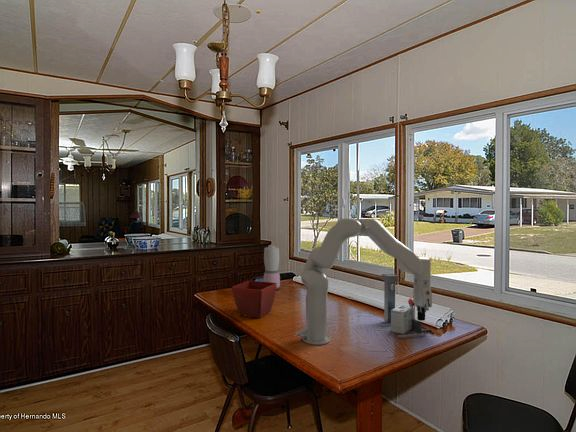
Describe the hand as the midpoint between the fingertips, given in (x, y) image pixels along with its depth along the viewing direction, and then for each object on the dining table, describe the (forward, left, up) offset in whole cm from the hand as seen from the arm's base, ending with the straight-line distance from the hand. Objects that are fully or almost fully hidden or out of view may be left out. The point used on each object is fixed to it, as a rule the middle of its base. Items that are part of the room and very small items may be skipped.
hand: (421, 319), depth 171 cm
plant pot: (-78, +42, -5) cm, 88 cm away
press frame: (-9, +5, -5) cm, 12 cm away
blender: (-59, +103, -5) cm, 119 cm away
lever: (0, +9, -5) cm, 10 cm away
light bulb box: (-9, +3, -5) cm, 11 cm away
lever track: (0, +4, -5) cm, 6 cm away
